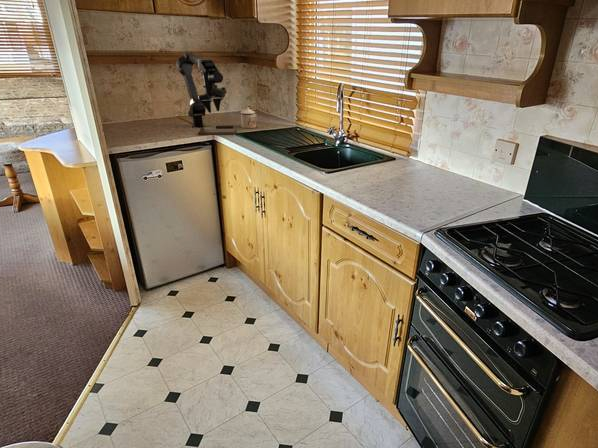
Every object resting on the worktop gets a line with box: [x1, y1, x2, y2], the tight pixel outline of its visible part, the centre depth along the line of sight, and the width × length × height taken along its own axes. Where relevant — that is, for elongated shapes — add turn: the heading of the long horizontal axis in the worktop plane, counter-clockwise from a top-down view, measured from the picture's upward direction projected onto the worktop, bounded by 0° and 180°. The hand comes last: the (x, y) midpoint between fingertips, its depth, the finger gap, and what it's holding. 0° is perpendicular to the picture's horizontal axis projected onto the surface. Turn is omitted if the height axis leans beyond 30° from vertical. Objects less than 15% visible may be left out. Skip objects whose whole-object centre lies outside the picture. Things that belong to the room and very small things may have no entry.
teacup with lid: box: [240, 107, 258, 129], centre depth 248 cm, size 12×9×12 cm
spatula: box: [203, 124, 234, 129], centre depth 243 cm, size 17×6×2 cm, turn 98°
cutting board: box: [197, 128, 237, 136], centre depth 233 cm, size 9×20×2 cm, turn 98°
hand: (214, 111), depth 233 cm, fingers open, 9 cm apart
